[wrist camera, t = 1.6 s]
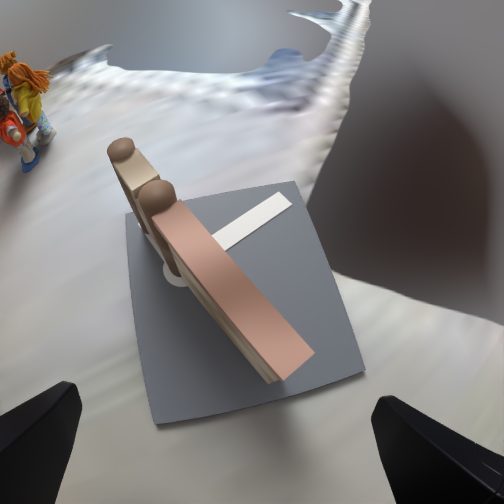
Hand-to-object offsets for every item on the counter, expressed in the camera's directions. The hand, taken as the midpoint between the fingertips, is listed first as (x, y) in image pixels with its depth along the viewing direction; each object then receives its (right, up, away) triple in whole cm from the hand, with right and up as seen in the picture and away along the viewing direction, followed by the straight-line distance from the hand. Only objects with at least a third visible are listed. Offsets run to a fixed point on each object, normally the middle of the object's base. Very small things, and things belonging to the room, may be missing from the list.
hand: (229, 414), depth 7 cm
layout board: (-1, +1, +16) cm, 16 cm away
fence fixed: (-7, +6, +17) cm, 20 cm away
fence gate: (-2, 0, +14) cm, 14 cm away
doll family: (-31, +22, +25) cm, 46 cm away
